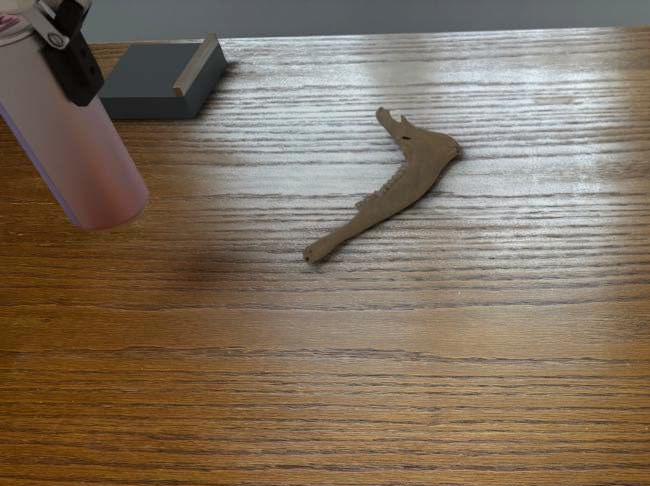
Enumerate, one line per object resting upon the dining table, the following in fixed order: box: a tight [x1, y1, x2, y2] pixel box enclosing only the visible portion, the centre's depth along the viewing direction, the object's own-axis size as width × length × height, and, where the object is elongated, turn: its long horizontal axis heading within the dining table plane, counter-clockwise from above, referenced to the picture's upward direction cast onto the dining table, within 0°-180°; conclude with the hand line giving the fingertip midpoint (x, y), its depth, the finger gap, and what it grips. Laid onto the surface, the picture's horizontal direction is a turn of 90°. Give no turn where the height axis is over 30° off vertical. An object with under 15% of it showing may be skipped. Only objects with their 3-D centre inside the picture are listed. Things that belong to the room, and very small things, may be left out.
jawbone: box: [302, 106, 460, 266], centre depth 73 cm, size 9×20×2 cm, turn 168°
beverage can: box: [0, 0, 150, 234], centre depth 58 cm, size 6×6×15 cm
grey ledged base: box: [97, 32, 229, 120], centre depth 87 cm, size 10×10×4 cm
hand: (43, 92), depth 56 cm, fingers closed on beverage can, 6 cm apart
